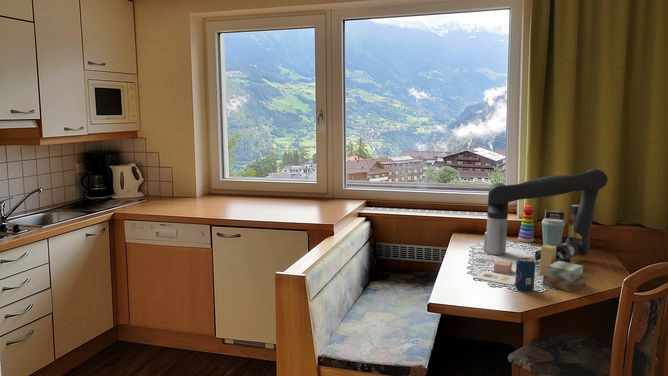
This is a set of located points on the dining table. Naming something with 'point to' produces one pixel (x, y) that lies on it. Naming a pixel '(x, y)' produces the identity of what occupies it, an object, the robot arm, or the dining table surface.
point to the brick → (503, 267)
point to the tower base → (564, 283)
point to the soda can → (525, 274)
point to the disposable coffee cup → (552, 231)
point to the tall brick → (547, 258)
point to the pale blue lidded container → (555, 216)
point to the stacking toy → (527, 225)
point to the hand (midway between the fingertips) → (546, 260)
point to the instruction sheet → (496, 277)
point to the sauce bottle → (572, 221)
